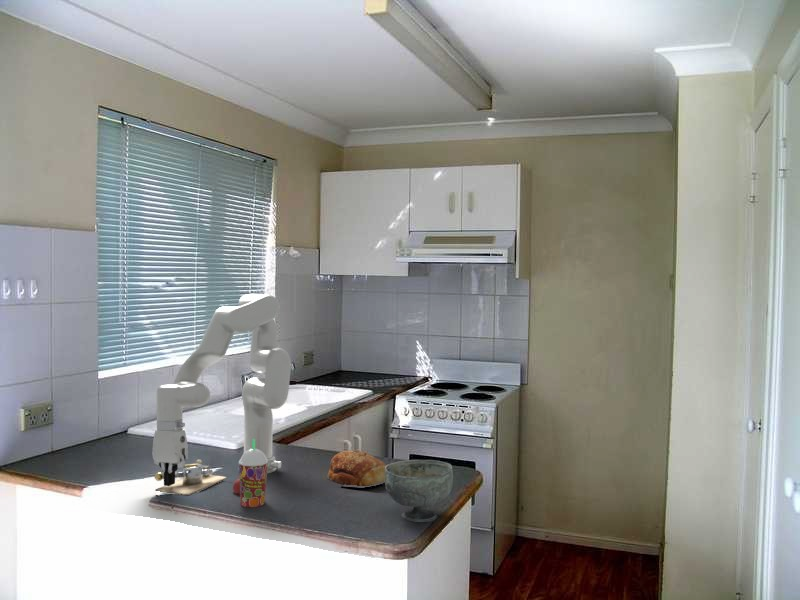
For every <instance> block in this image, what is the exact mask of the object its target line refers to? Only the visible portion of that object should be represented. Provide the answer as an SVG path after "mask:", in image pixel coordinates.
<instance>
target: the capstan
mask: <svg viewBox="0 0 800 600" xmlns="http://www.w3.org/2000/svg"><path fill="white" fill-rule="evenodd" d="M213 473H214V470H213V469H211V468H210V469H205V470H203V464H196V463H188V464H185V466H184V467H182V471H175V479H179V478H180V479H183V484H186V485H195V484H200V483H202V479H203V475H213ZM154 479H155V481H157V482H161V481H162V480H164V472H162V471H161V472H159V471H158V472H156V473H155V475H154Z"/></svg>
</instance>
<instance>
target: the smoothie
mask: <svg viewBox="0 0 800 600" xmlns="http://www.w3.org/2000/svg"><path fill="white" fill-rule="evenodd" d="M267 466H268V460H267V458H266V456H265V454H264V453H263V452H262V451H261V450H259V449H255V439H253V449H249V450H247V451H246V452H245V453H244V452H243V453H242V456H241V457H240V459H239V460H238V471H239V472H238V473H239V474H238V476H239V477H238V478H240V494H239V496H240V505H241V507H245V508H257V507H261V506H263V505H265V503H266V491H267V489H266V488H267V477H268V474H267Z"/></svg>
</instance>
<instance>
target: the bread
mask: <svg viewBox="0 0 800 600" xmlns="http://www.w3.org/2000/svg"><path fill="white" fill-rule="evenodd" d="M387 465H388V464H387V463H386V462H384V461H383V460H381V459H379V458H377V457H375V456H373V455H372V454H370V453H368V452H367V451H363V450H357V449H356V450H343V451H341V452H338V453H337V454H334V456H333V457H332V459H331V461H330V464H329V470H328V473H327V479H328V480H329V479H330V481H331V480H332V482H334V481H335V482H334V483H336V482H337V484H339V483H340V485H344V484H346V485H357V486H370V485H374V484H376V483H379V482H382V481H385V466H387Z"/></svg>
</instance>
